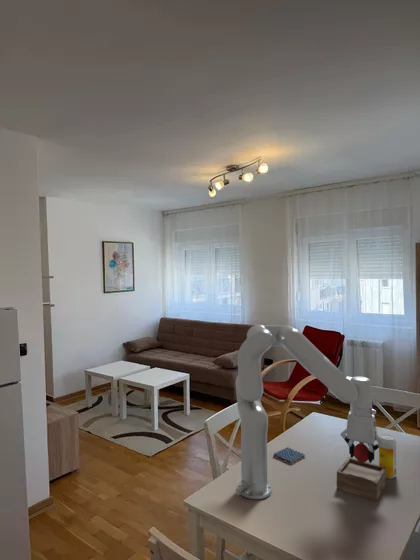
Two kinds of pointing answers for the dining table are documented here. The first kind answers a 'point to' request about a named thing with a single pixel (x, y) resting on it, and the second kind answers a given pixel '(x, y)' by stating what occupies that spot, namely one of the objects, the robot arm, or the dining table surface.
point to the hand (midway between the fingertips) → (361, 458)
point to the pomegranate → (361, 452)
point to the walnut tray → (361, 478)
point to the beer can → (388, 455)
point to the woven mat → (289, 455)
